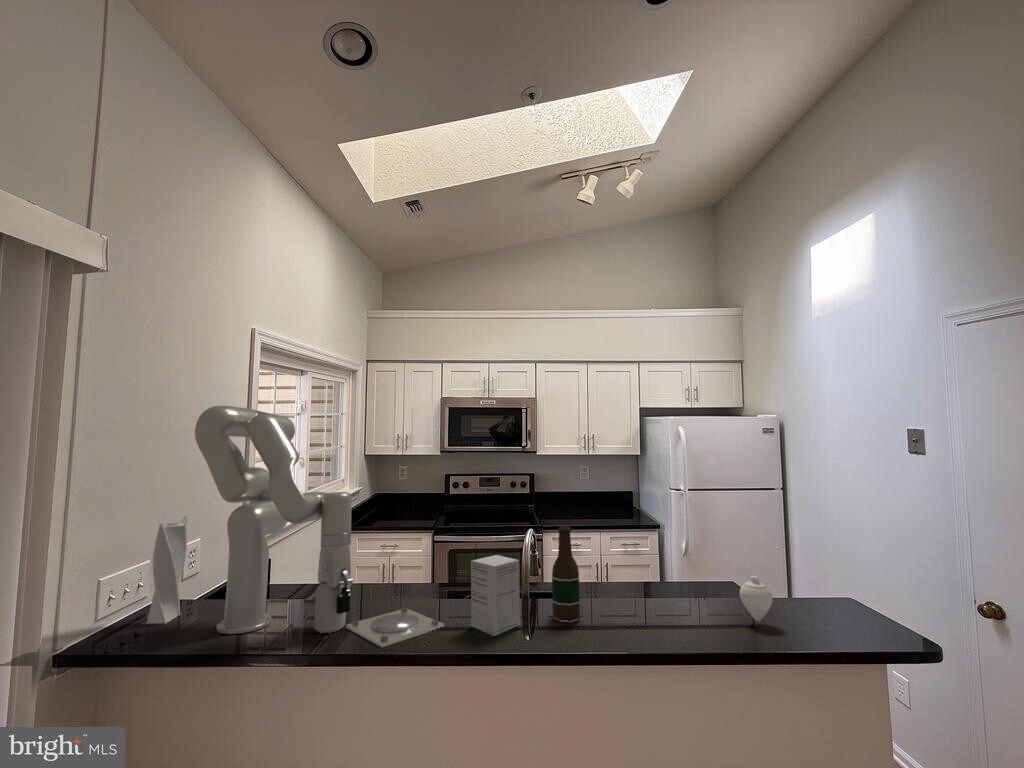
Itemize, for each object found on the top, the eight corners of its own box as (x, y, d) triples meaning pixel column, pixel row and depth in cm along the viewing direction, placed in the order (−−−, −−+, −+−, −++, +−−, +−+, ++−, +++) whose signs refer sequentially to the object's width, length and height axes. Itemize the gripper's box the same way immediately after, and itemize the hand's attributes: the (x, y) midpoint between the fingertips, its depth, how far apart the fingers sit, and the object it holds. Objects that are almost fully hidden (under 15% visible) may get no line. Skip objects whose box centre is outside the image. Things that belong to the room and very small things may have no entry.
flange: (345, 627, 121) (346, 621, 121) (406, 611, 134) (406, 605, 134) (381, 647, 108) (381, 640, 109) (443, 627, 121) (444, 620, 121)
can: (334, 635, 116) (336, 585, 118) (307, 633, 117) (310, 583, 119) (350, 625, 123) (352, 577, 125) (325, 623, 125) (327, 576, 126)
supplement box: (497, 618, 127) (496, 554, 129) (521, 627, 120) (520, 559, 123) (469, 628, 120) (470, 559, 123) (493, 637, 114) (493, 565, 116)
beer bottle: (585, 616, 128) (582, 526, 131) (573, 625, 121) (571, 530, 125) (560, 611, 132) (558, 524, 136) (547, 620, 125) (545, 527, 129)
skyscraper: (190, 616, 132) (198, 514, 136) (168, 626, 124) (178, 518, 128) (160, 616, 132) (170, 514, 136) (137, 626, 124) (148, 518, 128)
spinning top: (768, 633, 115) (763, 582, 117) (736, 624, 121) (733, 576, 123) (779, 625, 120) (775, 576, 122) (749, 617, 126) (745, 571, 128)
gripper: (308, 538, 127) (306, 605, 124) (336, 545, 115) (335, 619, 112) (335, 534, 132) (334, 598, 130) (365, 541, 120) (364, 611, 118)
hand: (334, 608), depth 121 cm, fingers open, 9 cm apart
